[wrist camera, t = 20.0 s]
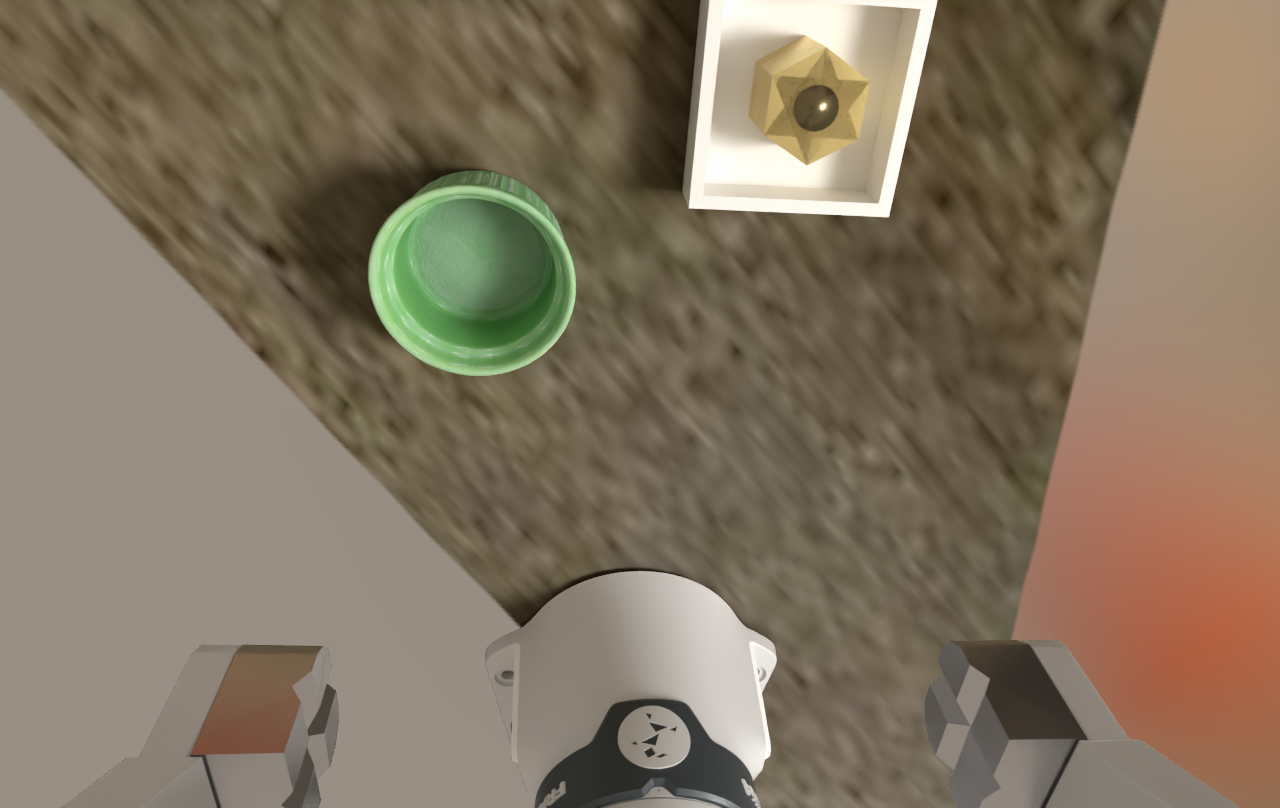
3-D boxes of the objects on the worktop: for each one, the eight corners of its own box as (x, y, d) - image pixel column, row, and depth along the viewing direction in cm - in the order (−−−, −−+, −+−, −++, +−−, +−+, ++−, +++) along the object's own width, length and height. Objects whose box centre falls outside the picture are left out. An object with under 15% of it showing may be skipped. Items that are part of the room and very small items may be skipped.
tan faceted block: (830, 147, 38) (853, 168, 35) (744, 142, 38) (760, 163, 35) (850, 38, 36) (876, 50, 33) (759, 31, 36) (777, 44, 33)
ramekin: (345, 233, 40) (321, 268, 36) (492, 116, 37) (484, 140, 34) (472, 366, 44) (463, 410, 40) (612, 268, 41) (616, 305, 38)
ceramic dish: (871, 200, 40) (888, 217, 38) (682, 191, 40) (688, 208, 37) (916, -12, 36) (939, -7, 34) (702, -28, 35) (711, -23, 33)
